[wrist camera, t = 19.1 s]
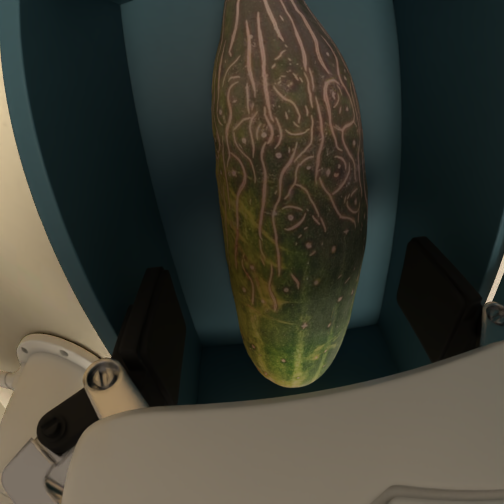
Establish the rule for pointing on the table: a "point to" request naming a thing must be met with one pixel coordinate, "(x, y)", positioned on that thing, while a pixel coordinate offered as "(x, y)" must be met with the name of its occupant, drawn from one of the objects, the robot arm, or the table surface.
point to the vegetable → (288, 185)
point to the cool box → (204, 163)
